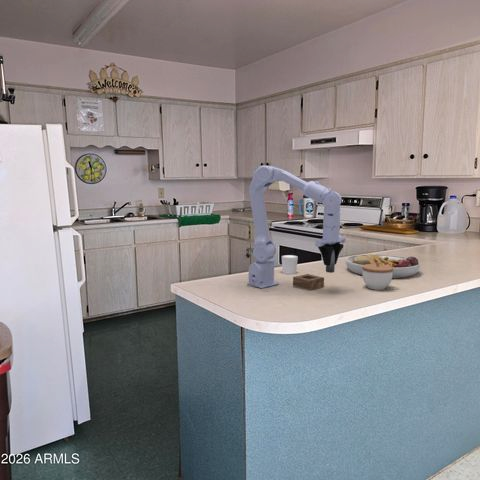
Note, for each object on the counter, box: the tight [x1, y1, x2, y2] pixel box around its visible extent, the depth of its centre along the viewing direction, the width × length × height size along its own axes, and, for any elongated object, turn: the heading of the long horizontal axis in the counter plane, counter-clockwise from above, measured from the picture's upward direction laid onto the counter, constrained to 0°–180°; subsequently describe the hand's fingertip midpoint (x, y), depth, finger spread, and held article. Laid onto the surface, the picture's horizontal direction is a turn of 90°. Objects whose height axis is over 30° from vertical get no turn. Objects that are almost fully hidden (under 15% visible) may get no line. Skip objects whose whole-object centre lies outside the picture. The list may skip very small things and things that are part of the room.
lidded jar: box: [361, 262, 393, 291], centre depth 151 cm, size 11×11×9 cm
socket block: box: [292, 273, 325, 291], centre depth 153 cm, size 8×8×4 cm
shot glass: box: [281, 254, 299, 275], centre depth 177 cm, size 7×7×7 cm
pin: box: [325, 249, 336, 273], centre depth 147 cm, size 3×3×8 cm
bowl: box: [345, 253, 421, 279], centre depth 178 cm, size 30×30×8 cm
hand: (330, 264), depth 147 cm, fingers closed on pin, 3 cm apart
